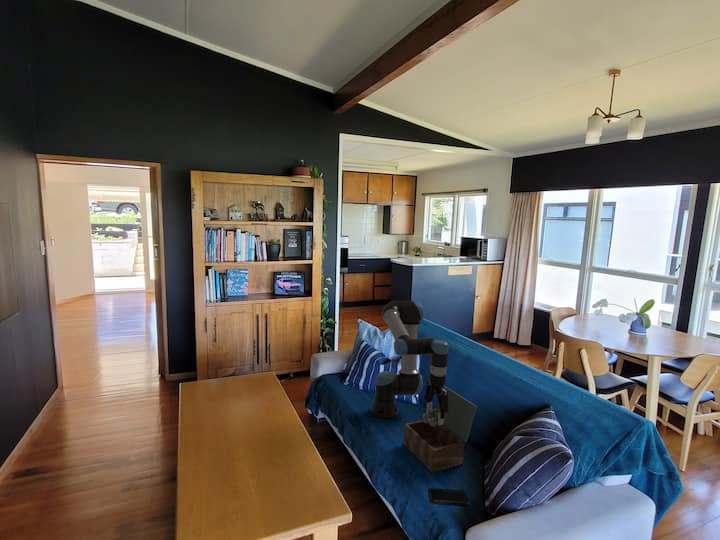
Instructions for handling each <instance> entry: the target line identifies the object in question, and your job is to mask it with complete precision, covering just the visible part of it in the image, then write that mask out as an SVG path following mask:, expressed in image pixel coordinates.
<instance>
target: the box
mask: <svg viewBox="0 0 720 540" xmlns="http://www.w3.org/2000/svg"><path fill="white" fill-rule="evenodd" d="M403 431H404V433H403V446H405V447H406V448H407V449H408V450H409V451H410V452H411V454H413V455H414V456H415V457H416V458H417V459H418V461H420V462H421V464H423V465H424V466H425V467H426V468H427V470H429V472H431V473H432V474H433V473H437V472H439V471H440V472H441V471H444V470H447V469H446V468H448V469H450V468H449V467H451V468H454V467H453V466H455V467H458V466H461V464H462V465H463V463H464V455H465V454H464V453H465V442H464V441H463V440H462V439H461V438H459V437H458V436H457V435H455V434H454V433H453V432H452V431H450V430H449V429H448V428H447V427H445V426H444V425H438V424H437V426H430V424H429V423H424V419H423V420H418V421H414V422H407V423H405V424H404V430H403ZM457 465H458V466H457ZM443 469H444V470H443Z"/></svg>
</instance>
